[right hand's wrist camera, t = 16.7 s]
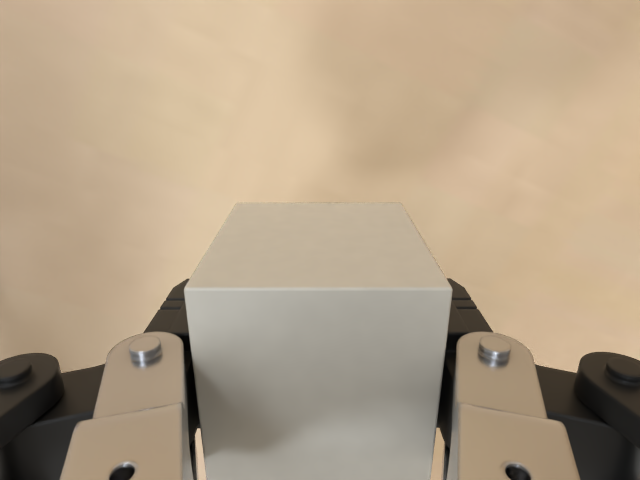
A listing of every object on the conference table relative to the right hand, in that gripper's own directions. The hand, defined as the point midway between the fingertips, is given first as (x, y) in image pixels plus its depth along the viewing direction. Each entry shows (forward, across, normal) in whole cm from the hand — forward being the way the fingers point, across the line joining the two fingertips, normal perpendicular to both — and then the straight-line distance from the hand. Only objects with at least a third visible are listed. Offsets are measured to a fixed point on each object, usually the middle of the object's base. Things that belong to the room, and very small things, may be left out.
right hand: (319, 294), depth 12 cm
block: (0, 0, 0) cm, 0 cm away
